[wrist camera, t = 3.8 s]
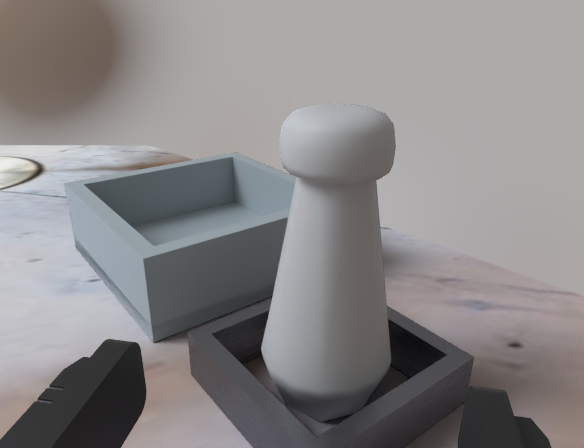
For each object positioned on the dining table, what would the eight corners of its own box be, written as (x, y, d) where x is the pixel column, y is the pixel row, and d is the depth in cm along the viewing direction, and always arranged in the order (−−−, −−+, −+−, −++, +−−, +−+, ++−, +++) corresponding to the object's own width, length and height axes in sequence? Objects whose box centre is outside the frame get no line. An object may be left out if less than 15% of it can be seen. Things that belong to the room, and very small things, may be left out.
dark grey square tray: (331, 311, 29) (333, 274, 28) (465, 401, 22) (474, 357, 21) (191, 374, 24) (187, 332, 23) (311, 516, 17) (313, 465, 16)
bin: (238, 206, 44) (236, 152, 42) (346, 266, 34) (350, 199, 32) (76, 247, 36) (64, 183, 34) (153, 342, 26) (143, 258, 24)
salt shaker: (264, 441, 20) (260, 126, 15) (259, 352, 25) (255, 95, 20) (403, 431, 21) (446, 124, 15) (370, 346, 26) (393, 95, 21)
